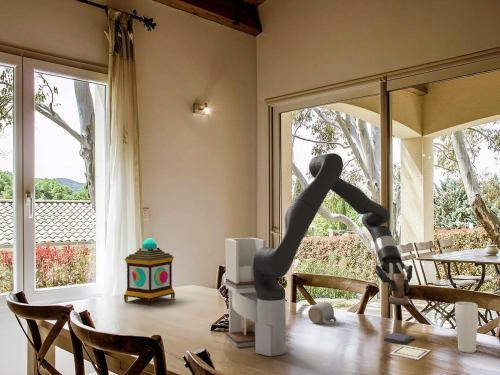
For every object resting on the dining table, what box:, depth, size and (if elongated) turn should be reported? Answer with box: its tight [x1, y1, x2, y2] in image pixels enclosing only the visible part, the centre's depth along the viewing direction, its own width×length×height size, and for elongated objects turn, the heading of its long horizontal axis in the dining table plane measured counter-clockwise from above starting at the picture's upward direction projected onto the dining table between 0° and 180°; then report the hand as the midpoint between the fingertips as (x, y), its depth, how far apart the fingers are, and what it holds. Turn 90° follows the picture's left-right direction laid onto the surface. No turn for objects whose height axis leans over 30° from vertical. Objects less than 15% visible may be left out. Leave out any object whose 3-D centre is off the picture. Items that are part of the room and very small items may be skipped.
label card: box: [389, 344, 432, 361], centre depth 157 cm, size 11×9×1 cm
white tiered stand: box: [224, 237, 266, 348], centre depth 171 cm, size 11×11×35 cm
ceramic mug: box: [307, 301, 337, 326], centre depth 194 cm, size 11×8×8 cm
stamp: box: [388, 273, 410, 306], centre depth 169 cm, size 5×5×10 cm
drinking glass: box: [454, 301, 479, 354], centre depth 158 cm, size 7×7×15 cm
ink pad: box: [383, 332, 415, 346], centre depth 171 cm, size 9×7×1 cm
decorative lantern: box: [123, 237, 176, 306], centre depth 238 cm, size 20×20×30 cm
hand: (401, 291), depth 167 cm, fingers closed on stamp, 3 cm apart
